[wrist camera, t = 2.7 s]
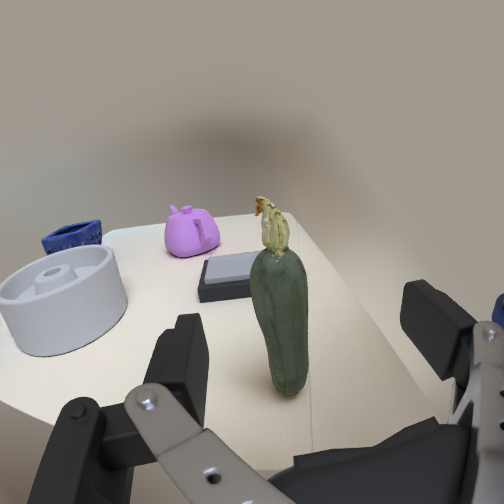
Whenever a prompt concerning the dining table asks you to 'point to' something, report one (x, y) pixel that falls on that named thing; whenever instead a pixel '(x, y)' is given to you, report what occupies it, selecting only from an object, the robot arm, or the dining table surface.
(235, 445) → the dining table surface
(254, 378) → the dining table surface
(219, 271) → the scale
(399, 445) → the robot arm
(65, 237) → the flower pot
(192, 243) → the teapot
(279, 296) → the vegetable
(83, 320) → the container
